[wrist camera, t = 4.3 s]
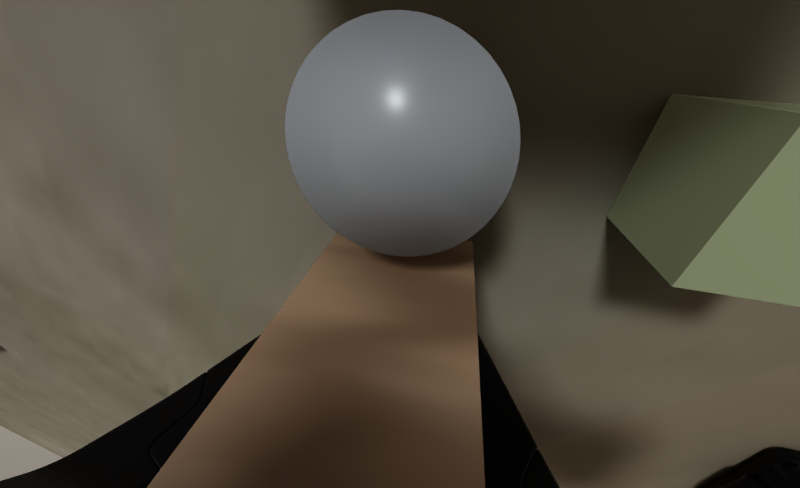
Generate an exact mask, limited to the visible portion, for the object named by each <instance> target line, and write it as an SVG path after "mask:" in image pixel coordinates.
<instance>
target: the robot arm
mask: <svg viewBox="0 0 800 488" xmlns="http://www.w3.org/2000/svg"><path fill="white" fill-rule="evenodd" d="M477 335H478V355H479V375H480V395H481V415H482V434H483V454H484V474H485V488H560V487H559V486H558V484H557V482H556V480H555V478H554V477H553V475H552V473H551V471H550V469H549V468H548V466H547V464H546V462H545V460H544V458H543V456H542V454H541V452H540V451H539V450H537V445H536V443H535V441H534V439H533V437H532V435H531V433H530V432H529V430H528V428H527V426H526V424H525V422H524V420H523V418H522V416H521V414H520V412H519V411H518V409H517V407H516V405H515V403H514V401H513V399H512V397H511V395H510V393H509V392H508V390H507V388H506V386H505V384H504V382H503V380H502V378H501V376H500V374H499V373H498V371H497V369H496V367H495V365H494V363H493V361H492V359H491V357H490V355H489V353H488V352H487V350H486V348H485V346H484V344H483V342H482V340H481V338H480V336H479V334H478V333H477ZM259 337H260V335H259V336H258V337H256V338H255V339H253V340H252V341H250V342H249V343H247V344H246V345H245V346H243V347H242V348H240V349H239V350H237V351H236V352H234V353H233V354H231V355H230V356H228V357H227V358H225V359H224V360H222V361H221V362H220V363H218V364H217V365H215V366H214V367H212V368H211V369H209V370H208V371H207V373H206V372H205V373H203V374H202V375H200V376H199V377H197V378H196V379H194V380H193V381H191V382H190V383H188V384H187V385H185V386H184V387H182V388H181V389H179V390H178V391H176V392H175V393H173V394H172V395H170V396H168V397H167V398H165V399H164V400H162V401H160V402H159V403H157V404H155V405H154V406H152V407H150V408H149V409H147V410H145V411H144V412H142V413H140V414H139V415H137V416H135V417H134V418H132V419H130V420H128V421H127V422H125V423H123V424H122V425H120V426H118V427H117V428H115V429H113V430H111V431H110V432H108V433H106V434H105V435H103V436H101V437H100V438H98V439H96V440H94V441H93V442H91V443H89V444H88V445H86V446H84V447H83V448H81V449H79V450H77V451H75V452H74V453H72V454H70V455H68V456H66V457H64V458H62V459H60V460H58V461H56V462H53V463H51V464H49V465H47V466H44V467H42V468H39V469H37V470H34V471H31V472H28V473H25V474H22V475H19V476H15V477H12V478H9V479H6V480H2V481H0V488H147V487H148V485H149V484H150V483H151V481H152V480H153V479H154V477H155V476H156V475H157V473H158V472H159V471H160V469H161V468H162V467H163V465H164V464H165V463H166V461H167V460H168V458H169V457H170V456H171V454H172V453H173V452H174V450H175V449H176V448H177V446H178V445H179V444H180V442H181V441H182V440H183V438H184V437H185V436H186V434H187V433H188V432H189V430H190V429H191V428H192V426H193V425H194V424H195V422H196V421H197V420H198V418H199V417H200V416H201V414H202V413H203V412H204V410H205V409H206V408H207V406H208V405H209V404H210V402H211V401H212V400H213V398H214V397H215V396H216V394H217V393H218V392H219V390H220V389H221V388H222V386H223V385H224V384H225V382H226V381H227V380H228V378H229V377H230V376H231V374H232V373H233V372H234V370H235V369H236V368H237V366H238V365H239V364H240V362H241V361H242V360H243V358H244V357H245V356H246V354H247V353H248V351H249V350H250V349H251V347H252V346H253V345H254V343H255V342H256V341H257V339H258V338H259ZM706 488H800V452H795V451H791V450H776V451H772V452H769V453H767V454H766V455H764V456H762V457H760V458H758V459H757V460H755V461H753V462H751V463H749V464H747V465H746V466H744V467H742V468H740V469H738V470H736V471H735V472H733V473H731V474H729V475H727V476H726V477H724V478H722V479H720V480H718V481H716V482H715V483H713V484H711V485H709V486H707V487H706Z"/></svg>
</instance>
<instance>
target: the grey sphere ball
mask: <svg viewBox="0 0 800 488" xmlns="http://www.w3.org/2000/svg"><path fill="white" fill-rule="evenodd" d="M285 139H286V148H287V153H288V157H289V162H290V165H291V168H292V171H293V174H294V177H295V179H296V181H297V183H298V185H299V188H300V190H301V191H302V193H303V195H304V196H305V198H306V200H307V201H308V203H309V204H310V205H311V207H312V208H313V209H314V211H315V212H316V213H317V214H318V215H319V216H320V217H321V218H322V219H323V221H324V222H326V223H327V224H328V225H329V226H330V227H331V228H332V229H333V230H335V231H336V232H337V233H339V234H340V235H342V236H343V237H344V238H346V239H348V240H350V241H351V242H353V243H355V244H357V245H359V246H361V247H364V248H366V249H369V250H372V251H375V252H378V253H382V254H387V255H393V256H402V257H408V256H423V255H430V254H434V253H438V252H441V251H444V250H447V249H450V248H452V247H454V246H456V245H458V244H460V243H462V242H464V241H466V240H467V239H469V238H470V237H472V236H473V235H475V234H476V233H477V232H478V231H479V230H480V229H482V228H483V227H484V226H485V225H486V224H487V223H488V222H489V221H490V220H491V218H492V217H493V216H494V215H495V214H496V212H497V211H498V209H499V208H500V207H501V205H502V204H503V202H504V200H505V198H506V196H507V194H508V193H509V191H510V188H511V186H512V183H513V180H514V177H515V175H516V170H517V166H518V161H519V154H520V142H521V139H520V122H519V117H518V112H517V107H516V103H515V100H514V97H513V95H512V92H511V89H510V86H509V84H508V82H507V80H506V79H505V77H504V75H503V73H502V71H501V69H500V68H499V66H498V65H497V64H496V62H495V61H494V59H493V58H492V57H491V55H490V54H489V53H488V52H487V51H486V50H485V49H484V48H483V47H482V46H481V45H480V44H479V43H478V42H477V41H476V40H475V39H474V38H473V37H471V36H470V35H469V34H467V33H466V32H464V31H463V30H462V29H460V28H459V27H457V26H455V25H453V24H451V23H449V22H447V21H445V20H443V19H441V18H438V17H435V16H432V15H429V14H426V13H422V12H416V11H408V10H383V11H378V12H374V13H369V14H365V15H362V16H360V17H357V18H355V19H352V20H350V21H347V22H346V23H344V24H342V25H341V26H339V27H337V28H336V29H334V30H333V31H331V32H330V33H329V34H328V35H327V36H325V37H324V38H323V39H322V40H321V41H320V42H319V43H318V44H317V45H316V46H315V47H314V48H313V50H312V51H311V52H310V53H309V54H308V56H307V57H306V59H305V60H304V62H303V64H302V65H301V67H300V69H299V70H298V72H297V75H296V77H295V79H294V82H293V84H292V87H291V90H290V94H289V97H288V101H287V108H286V115H285Z"/></svg>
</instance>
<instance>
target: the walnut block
mask: <svg viewBox="0 0 800 488" xmlns="http://www.w3.org/2000/svg"><path fill="white" fill-rule="evenodd" d="M147 488H485V474H484V454H483V434H482V415H481V395H480V375H479V355H478V335H477V316H476V296H475V276H474V256H473V241H464V242H462V243H460V244H458V245H456V246H454V247H452V248H450V249H447V250H444V251H441V252H438V253H434V254H430V255H423V256H408V257H402V256H393V255H387V254H382V253H378V252H375V251H372V250H369V249H366V248H364V247H361V246H359V245H357V244H355V243H353V242H351V241H350V240H348V239H346V238H344V237H343V236H342V235H340V234H339V233H337V234H336V235H335V236H334V238H333V239H332V240H331V242H330V243H329V244H328V246H327V247H326V249H325V250H324V251H323V253H322V254H321V255H320V257H319V258H318V259H317V261H316V262H315V263H314V265H313V266H312V267H311V269H310V270H309V271H308V273H307V274H306V275H305V277H304V278H303V279H302V281H301V282H300V283H299V285H298V286H297V287H296V289H295V290H294V291H293V293H292V294H291V295H290V297H289V298H288V299H287V301H286V302H285V303H284V305H283V306H282V307H281V309H280V310H279V311H278V313H277V314H276V315H275V317H274V318H273V319H272V321H271V322H270V323H269V325H268V326H267V327H266V329H265V330H264V331H263V333H262V334H261V335H260V337H259V338H258V339H257V341H256V342H255V343H254V345H253V346H252V347H251V349H250V350H249V351H248V353H247V354H246V356H245V357H244V358H243V360H242V361H241V362H240V364H239V365H238V366H237V368H236V369H235V370H234V372H233V373H232V374H231V376H230V377H229V378H228V380H227V381H226V382H225V384H224V385H223V386H222V388H221V389H220V390H219V392H218V393H217V394H216V396H215V397H214V398H213V400H212V401H211V402H210V404H209V405H208V406H207V408H206V409H205V410H204V412H203V413H202V414H201V416H200V417H199V418H198V420H197V421H196V422H195V424H194V425H193V426H192V428H191V429H190V430H189V432H188V433H187V434H186V436H185V437H184V438H183V440H182V441H181V442H180V444H179V445H178V446H177V448H176V449H175V450H174V452H173V453H172V454H171V456H170V457H169V458H168V460H167V461H166V463H165V464H164V465H163V467H162V468H161V469H160V471H159V472H158V473H157V475H156V476H155V477H154V479H153V480H152V481H151V483H150V484H149V485H148V487H147Z"/></svg>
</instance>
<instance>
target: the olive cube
mask: <svg viewBox="0 0 800 488" xmlns="http://www.w3.org/2000/svg"><path fill="white" fill-rule="evenodd" d="M607 218H608V219H609V220H610V221H611V222H612V223H613V224H614V225H615V226H616V227H617V228H618V229H619V230H620V231H621V233H622V234H623V235H624V236H625V237H626V238H627V239H628V240H629V241H630V242H631V243H632V244H633V245H634V247H635V248H636V249H637V250H638V251H639V252H640V253H641V254H642V255H643V256H644V257H645V258H646V259H647V261H648V262H649V263H650V264H651V265H652V266H653V267H654V268H655V269H656V270H657V271H658V272H659V273H660V274H661V276H662V277H663V278H664V279H665V280H666V281H667V282H668V283H669V284H670V285H671V286H672V287H677V288H684V289H690V290H696V291H702V292H709V293H715V294H721V295H728V296H734V297H740V298H747V299H753V300H759V301H766V302H772V303H778V304H784V305H791V306H797V307H800V104H789V103H777V102H765V101H753V100H741V99H729V98H717V97H705V96H693V95H681V94H671V96H670V98H669V99H668V101H667V103H666V105H665V107H664V109H663V111H662V113H661V115H660V116H659V118H658V120H657V122H656V124H655V126H654V128H653V130H652V132H651V133H650V135H649V137H648V139H647V141H646V143H645V145H644V147H643V149H642V150H641V152H640V154H639V156H638V158H637V160H636V162H635V164H634V166H633V168H632V169H631V171H630V173H629V175H628V177H627V179H626V181H625V183H624V185H623V186H622V188H621V190H620V192H619V194H618V196H617V198H616V200H615V202H614V203H613V205H612V207H611V209H610V211H609V213H608V215H607Z"/></svg>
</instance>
